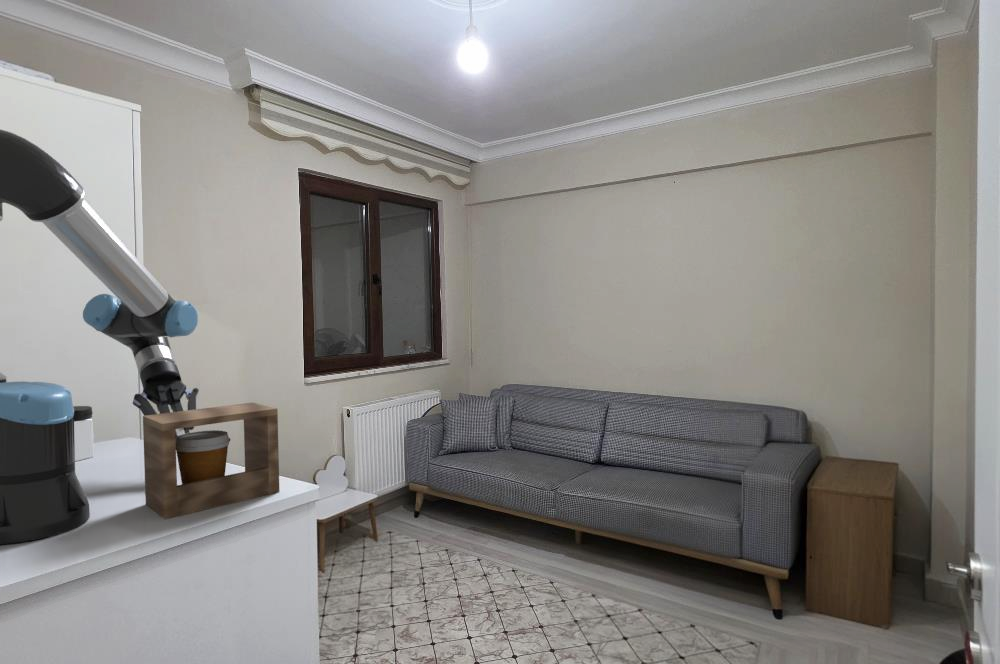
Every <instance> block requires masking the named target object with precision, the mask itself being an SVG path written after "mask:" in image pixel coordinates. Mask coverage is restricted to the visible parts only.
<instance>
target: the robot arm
mask: <svg viewBox="0 0 1000 664" xmlns="http://www.w3.org/2000/svg"><path fill="white" fill-rule="evenodd" d="M84 197H85V189H84V187H83V186H82V185H81V184H80V182H78V180H77V179H76V178H75V177H74V176H73V175H72V174H71V173H70V172H69V171H68V170H67V169H66V168H65V167H64V166H63V165H62V164H61V163H60V162H59V161H57V160H56V159H55V158H53V157H52V156H51V155H50V154H49V153H47V152H46V151H45V150H43V149H42V148H41V147H39V146H38V145H36V144H34V143H32V142H31V141H29V140H27V138H24V137H22V136H20V135H18V134H15V133H13V132H11V131H9V130H3V129H0V222H1V221H3V218H4V217H3V214H4V213H3V204H7V205H10V206H13V207H14V208H16V209H18V210H19V211H20V212H22V214H24V215H25V216H26V217H27V218H28V219H29V220H30V221H32V222H36V223H42V225H43V224H44V226H45V227H46V228H47V229H48V230H49V231H50V232H51V233H52V234H54V236H55V237H56V238H57V239H58V240H59V241H60V242H61V243H63V245H64V246H65V247H66V248H67V249H68V250H69V251H70V252H71V253H72V254H74V256H75V257H76V258H77V259H78V260H79V261H80V262H81V263H82V264H83V265H84V266H85V267H86V268H88V270H89V271H91V273H92V274H93V275H94V276H95V277H97V279H98V280H100V282H101V283H102V284H104V286H105V287H106V288H107V289H108V290H109V291H110V292H111V293H112V294H113V295H114V296H113V295H111V294H109V293H100V294H98V295H95V296H93V297H91V299H90V300H88V302H87V303H86V304H85V306H84V308H83V310H82V319H83V321H84V322H85V323H86V324H87V325H88V326H90V327H91V328H93V329H95V331H97V332H100V333H102V334H104V335H105V336H108V337H109V338H111V339H113V340H115V341H116V342H119V344H122V345H124V346H125V347H127V348H129V349H130V350H131V352H132V354H133V358H134V360H135V361H134V362H135V364H136V368H137V371H138V374H139V379H140V382H141V386H142V392H141V393H135V394H134V396H133V400H132V405H133V406H135V407H136V408H137V409H139V410H140V411H141V413H142V415H143V416H146V415H154V414H158V412H159V414H162V413H171V411H172V412H179V411H184V408H183V405H182V402H181V400H182V398H183V396H184V394H185V399H186V400H188V401H187V410H195V409H197V396H198V394H199V388H198V387H194V388H193V389H191V388H188V387H187V385H186V384H185V383H184V382H183V381H182V376H181V374H180V372H179V368H178V366H177V361H176V359H175V356H174V354H173V351H172V348H171V346H170V342H169V339H168V338H175V337H177V338H179V337H186V336H190V335H191V334H193V332H194V331H195V330H196V327H197V326H198V322H199V314H198V311H197V309H196V307H195V305H193V304H192V303H190V302H189V301H183V300H182V299H181V300H175V299H174V298H173V297H172V296H171V295H170V293H168V291H166V289H165V288H164V287H163V286H162V284H161V283H160V282H159V281H158V279H156V278H155V277H154V275H153V274H152V273H151V272H150V271H149V270H148V269H147V268H146V267H145V265H144V264H143V263H142V262H141V261H140V260H139V258H137V256H136V255H135V254H134V253H133V252H132V250H130V249H129V247H128V246H127V245H126V244H125V243H124V242H123V241H122V240H121V238H120V237H119V236H118V235H117V234H116V232H114V230H113V229H112V228H111V227H110V226H109V224H108V223H106V221H105V220H104V219H103V218H102V217H101V216H100V215H99V213H97V211H96V210H95V209H94V208H93V207H92V205H90V203H89V202H88V201H87V200H86V199H85V198H84ZM151 403H153V404H155V405H156V408H157V411H158V412H156V410H155V409H154V407H153V405H152V404H151ZM170 409H171V410H170ZM194 429H195V426H194V427H187V428H180V429H175V436H176V437H177V436H179V435H182V434H186V433H191V432H190V431H192V430H194ZM90 515H91V514H90V503H89V500H88V499H87V496H86V494H85V492H84V490H83V487H82V485H81V484H80V481H79V478H78V475H77V474H76V462H75V441H74V407H73V397H72V392H71V391H70V390H69V389H68V388H67V387H65V386H63V385H62V384H58V383H52V382H43V381H7V376H6V375H4V374H3V373H2V372H0V545H6V544H7V545H9V544H16V543H17V544H18V543H23V542H28V541H34V540H39V539H43V538H47V537H52V536H55V535H58V534H61V533H64V532H68V531H70V530H73V529H75V528H77V527H79V526H81V525H83V524H85V523H86V522H87V521H88V520H89V518H90Z"/></svg>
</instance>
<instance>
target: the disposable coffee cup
mask: <svg viewBox="0 0 1000 664" xmlns="http://www.w3.org/2000/svg"><path fill="white" fill-rule="evenodd" d="M230 442H231V438H230V437H229V432H227V431H225V430H224V431H223V430H198V431H191V432H190V433H186V434H182V435H179V436H177V437H176V459H177V463H178V464H177V465H178V469H179V474H180V480H181V481H180V482H181V485H182V484H187V483H192V482H197V481H202V480H207V479H212V478H216V477H221V476H226V468H227V467H226V466H227V458H228V448H229V444H230Z"/></svg>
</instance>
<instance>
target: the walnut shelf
mask: <svg viewBox="0 0 1000 664" xmlns="http://www.w3.org/2000/svg"><path fill="white" fill-rule="evenodd" d="M278 413H279V412H278V408H277V407H273V406H268V405H264V404H261V403H258V402H257V403H256V402H245V403H239V404H238V403H237V404H230V405H229V404H228V405H221V406H215V407H214V406H213V407H206V408H205V407H204V408H196V409H195V410H188V409H187V410H183V411H179V412H173V411H170V413H162V414H160V413H157V414H154V415H146V416H144V415H143V416H142V434H143V459H144V460H143V461H144V463H143V464H144V487H145V489H144V490H145V491H144V493H145V505H146V506H147V507H148V508H150V509H151V510H153V511H154V512H155V513H156V514H157V515H159V516H160V517H162V518H163V519H164V520H166V519H171V518H176V517H179V516H183V515H188V514H192V513H197V512H201V511H204V510H209V509H213V508H217V507H221V506H226V505H230V504H233V503H237V502H241V501H242V500H243V501H246V499H247V500H251V499H255V498H259V497H258V496H260V497H263V496H262V495H264V496H267V495H266V494H268V495H271V493H272V494H276V493H279V492H280V464H279V462H280V459H279V423H278V422H279V420H278V419H279V417H278V415H279V414H278ZM237 421H243V438H244V440H243V441H244V443H243V444H244V471H240V472H237V473H231V474H227V475H226V474H225V476H221V477H216V478H212V479H207V480H202V481H197V482H192V483H187V484H182V483H181V484H179V485H178V475H177V474H178V473H177V468H178V467H177V452H176V436H175V429H180V428H187V427H194V428H195V427H200V426H207V425H215V424H222V423H229V422H237ZM278 491H279V492H278ZM275 492H276V493H275ZM254 497H255V498H254ZM250 498H251V499H250ZM243 501H242V502H243Z"/></svg>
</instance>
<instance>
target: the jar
mask: <svg viewBox="0 0 1000 664" xmlns="http://www.w3.org/2000/svg"><path fill="white" fill-rule="evenodd" d="M73 407H74V441H75V463H77V462H78V461H84V460H88V459H93V458H94V456H95V455H94V454H95V453H94V452H95V451H94V439H95V438H94V428H93V427H94V426H93V425H94V424H93V423H94V422H93V408H92V406H89V405H78V406H77V405H76V406H75V405H74V406H73Z"/></svg>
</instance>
